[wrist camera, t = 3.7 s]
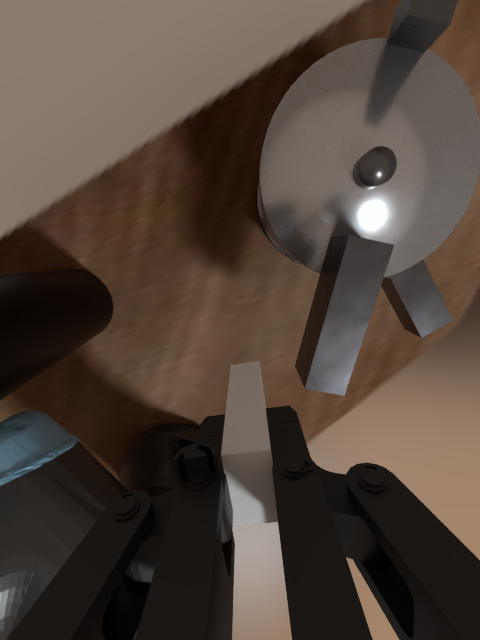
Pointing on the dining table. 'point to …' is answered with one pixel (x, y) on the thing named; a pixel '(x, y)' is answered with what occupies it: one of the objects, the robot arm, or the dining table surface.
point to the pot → (398, 291)
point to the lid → (368, 175)
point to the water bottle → (47, 320)
